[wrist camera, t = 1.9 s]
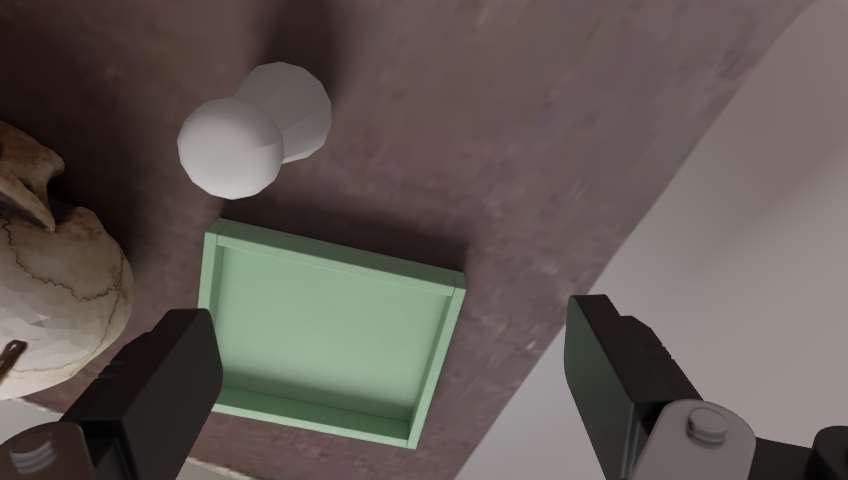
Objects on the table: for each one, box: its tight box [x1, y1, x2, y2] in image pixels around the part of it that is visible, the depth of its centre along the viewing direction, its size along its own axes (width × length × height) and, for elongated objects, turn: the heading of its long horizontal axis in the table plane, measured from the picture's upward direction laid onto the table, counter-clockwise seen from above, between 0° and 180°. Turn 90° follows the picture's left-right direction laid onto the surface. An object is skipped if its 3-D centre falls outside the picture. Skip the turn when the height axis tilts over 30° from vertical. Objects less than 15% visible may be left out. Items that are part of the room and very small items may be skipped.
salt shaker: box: [177, 62, 332, 200], centre depth 28 cm, size 6×6×13 cm
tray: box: [198, 218, 466, 449], centre depth 40 cm, size 18×15×3 cm
